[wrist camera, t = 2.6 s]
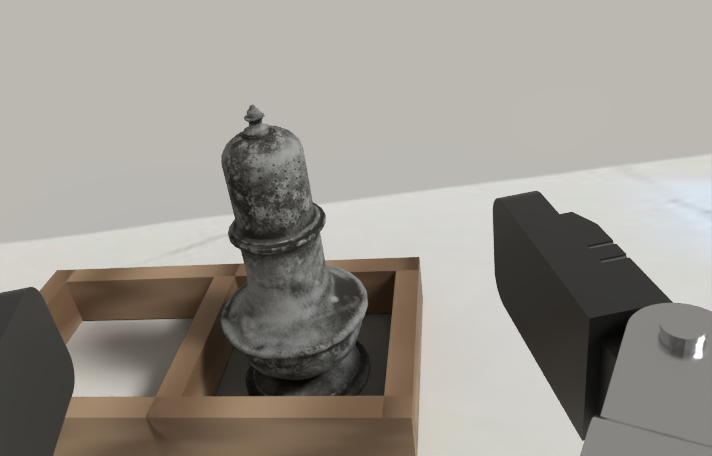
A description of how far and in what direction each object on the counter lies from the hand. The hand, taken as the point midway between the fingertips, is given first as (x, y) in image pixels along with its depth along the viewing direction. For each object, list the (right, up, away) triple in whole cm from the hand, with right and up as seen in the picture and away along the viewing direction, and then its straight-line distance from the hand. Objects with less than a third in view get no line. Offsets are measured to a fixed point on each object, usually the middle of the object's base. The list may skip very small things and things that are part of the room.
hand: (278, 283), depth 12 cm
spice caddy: (-5, -5, +17) cm, 18 cm away
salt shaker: (-1, -5, +16) cm, 17 cm away
